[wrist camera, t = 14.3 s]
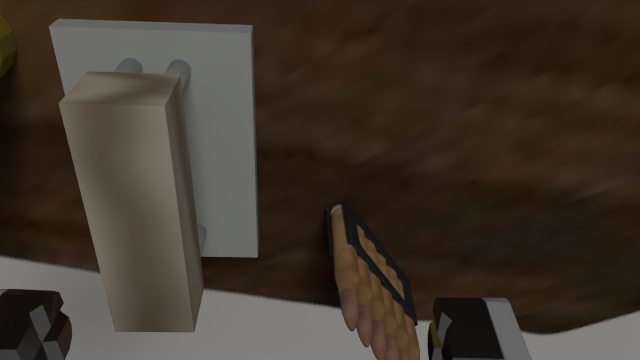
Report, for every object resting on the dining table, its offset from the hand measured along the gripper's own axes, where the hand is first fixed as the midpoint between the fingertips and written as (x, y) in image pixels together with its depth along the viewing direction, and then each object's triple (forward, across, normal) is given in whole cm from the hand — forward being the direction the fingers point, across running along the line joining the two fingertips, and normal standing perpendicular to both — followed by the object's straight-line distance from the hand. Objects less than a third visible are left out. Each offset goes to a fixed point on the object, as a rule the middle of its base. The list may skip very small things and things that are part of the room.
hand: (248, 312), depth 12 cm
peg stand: (+25, +9, +11) cm, 29 cm away
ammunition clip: (+26, -6, +20) cm, 33 cm away
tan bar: (+19, +9, +11) cm, 23 cm away
